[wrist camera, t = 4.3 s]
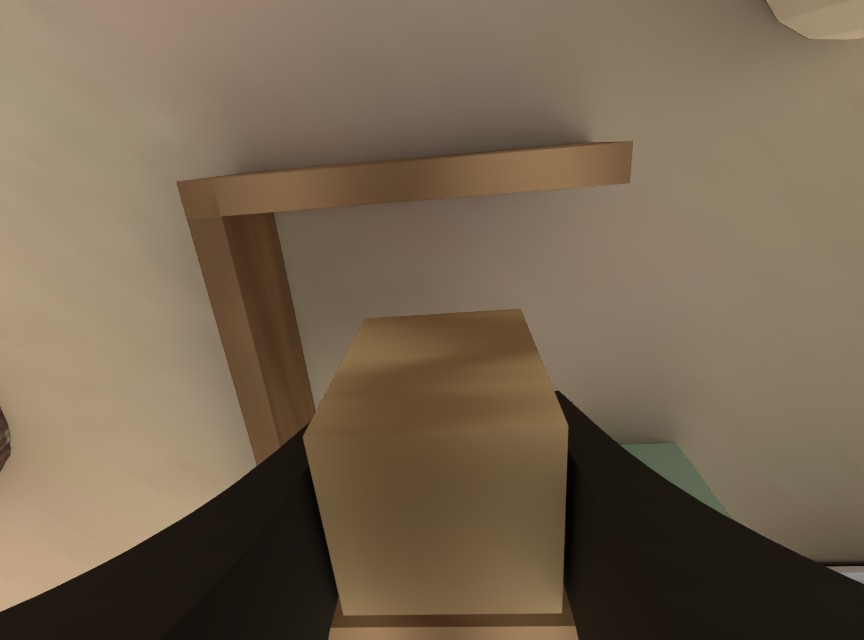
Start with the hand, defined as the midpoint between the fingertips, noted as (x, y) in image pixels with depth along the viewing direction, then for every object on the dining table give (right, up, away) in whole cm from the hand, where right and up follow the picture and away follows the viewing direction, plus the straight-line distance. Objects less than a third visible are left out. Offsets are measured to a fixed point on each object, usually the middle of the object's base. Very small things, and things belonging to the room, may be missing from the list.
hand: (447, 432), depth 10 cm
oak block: (0, +1, +2) cm, 2 cm away
